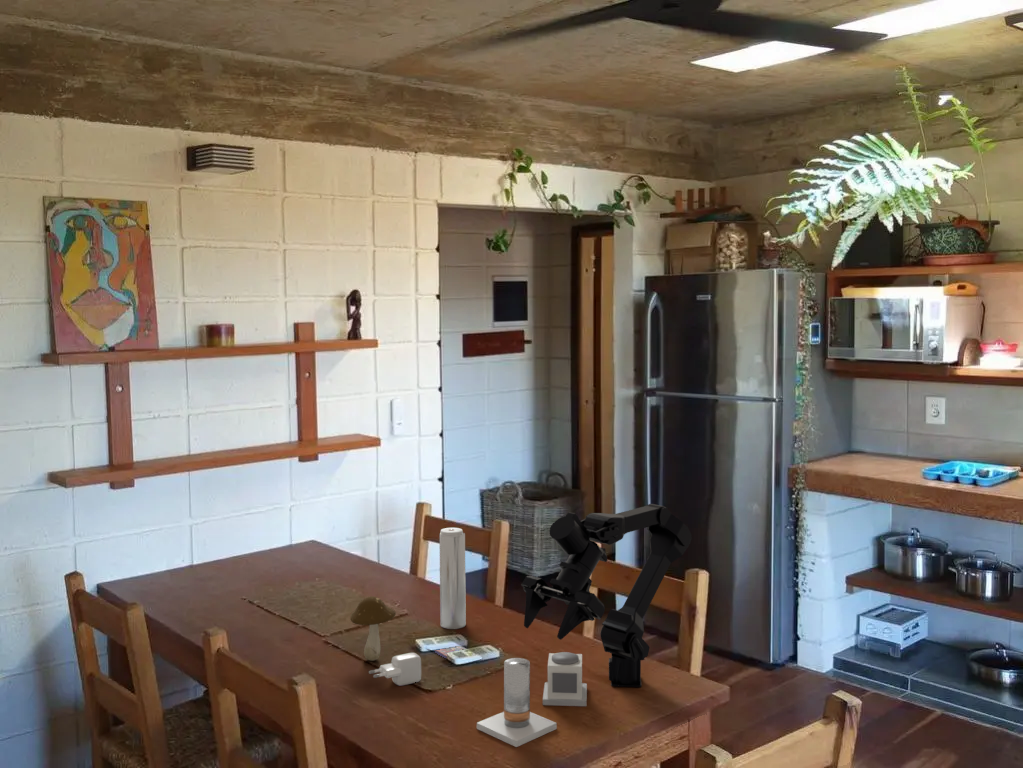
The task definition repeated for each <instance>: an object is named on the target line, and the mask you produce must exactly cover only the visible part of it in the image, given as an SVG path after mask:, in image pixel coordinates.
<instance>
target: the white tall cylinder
mask: <svg viewBox="0 0 1023 768" xmlns="http://www.w3.org/2000/svg"><path fill="white" fill-rule="evenodd" d="M466 595H467V594H466V533H465V532H464V531H463V529H462V528H459V527H446V528H445V527H444V528H441V529H440V533H439V603H440V604H439V605H440V606H439V611H440V612H439V613H440V616H439V617H440V627H441V628H443V629H446V630H447V629H448V630H459V629H462V628H464V627H465V626H466V624H467V621H466V619H467V617H466V616H467V615H466V613H467V612H466V611H467V608H466V603H467V602H466V597H467V596H466Z"/></svg>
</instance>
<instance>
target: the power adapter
mask: <svg viewBox="0 0 1023 768" xmlns="http://www.w3.org/2000/svg"><path fill="white" fill-rule="evenodd" d="M375 673H376V674H375ZM368 674H369V675H371V674H372V677H373V678H374V679H376V678H380V677H385V679H390V678H391V679H392V682H393V683H394V684H395V685H396V686H407V685H411V684H415V682H416V683H419V682H421V679H422V659H421V656H420V655H419V654H417V653H416V652H408V653H403V654H396V655H394V656H392V657H391V662H390V663H385V664H381V665H380V666H379V668H376V669H371V670H369V671H368Z"/></svg>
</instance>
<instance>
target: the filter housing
mask: <svg viewBox="0 0 1023 768" xmlns="http://www.w3.org/2000/svg"><path fill="white" fill-rule="evenodd" d="M587 684H588V683H585V682H583V654H582V653H574V652H568V651H561V652H556V653H553V652H552V653H551V652H549V653H548V660H547V681H546V682H544V686H543V694H542V706H563V707H564V706H566V707H567V706H568V707H587V701H588V700H587V699H588V698H587V695H588V694H587V693H588V689H587V688H588V685H587Z"/></svg>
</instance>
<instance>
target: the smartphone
mask: <svg viewBox="0 0 1023 768" xmlns="http://www.w3.org/2000/svg"><path fill="white" fill-rule="evenodd" d="M462 649H468V648H467V647H466V646H464V645H462V646H455V647H449V648H446V649H440V650H434V651H435V653H437V654H438V656H439V655H440V656H439V657H441V656H442V657H441V658H443V657H444V658H447V653H448V652H453V651H459V650H462ZM435 653H434V654H435ZM437 654H436V655H437ZM444 658H443V659H444Z"/></svg>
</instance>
